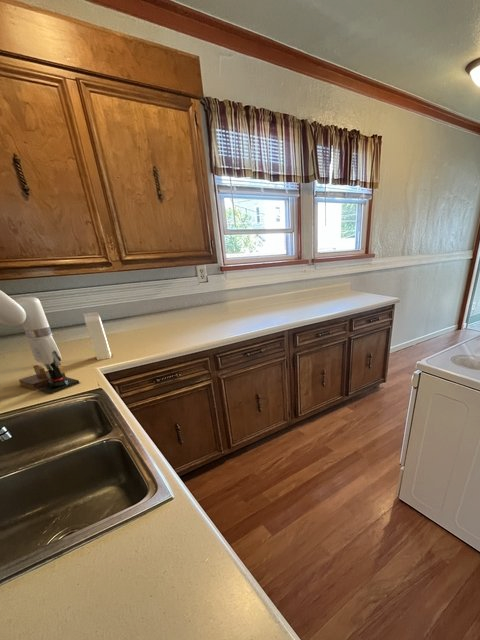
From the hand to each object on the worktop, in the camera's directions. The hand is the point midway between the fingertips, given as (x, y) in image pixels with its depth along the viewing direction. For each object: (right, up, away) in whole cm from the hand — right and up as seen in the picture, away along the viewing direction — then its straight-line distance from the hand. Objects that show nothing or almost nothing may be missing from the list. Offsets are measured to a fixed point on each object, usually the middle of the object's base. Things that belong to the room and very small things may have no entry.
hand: (57, 378), depth 128 cm
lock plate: (-9, -2, +6) cm, 11 cm away
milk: (-1, +12, +33) cm, 35 cm away
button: (0, -2, +1) cm, 2 cm away
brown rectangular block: (-10, +1, +4) cm, 11 cm away
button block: (0, -4, +2) cm, 4 cm away
